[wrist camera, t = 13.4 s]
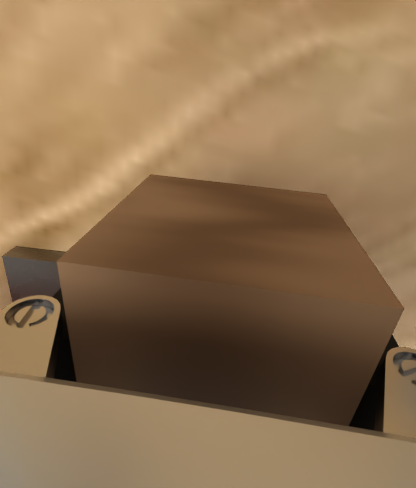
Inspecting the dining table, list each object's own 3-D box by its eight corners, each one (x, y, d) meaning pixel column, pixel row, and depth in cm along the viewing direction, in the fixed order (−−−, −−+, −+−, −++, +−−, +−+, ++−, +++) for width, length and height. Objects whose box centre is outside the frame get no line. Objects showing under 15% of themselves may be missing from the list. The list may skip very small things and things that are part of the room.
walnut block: (326, 194, 10) (404, 308, 5) (289, 329, 13) (316, 494, 8) (150, 174, 11) (56, 260, 6) (151, 310, 14) (88, 453, 8)
